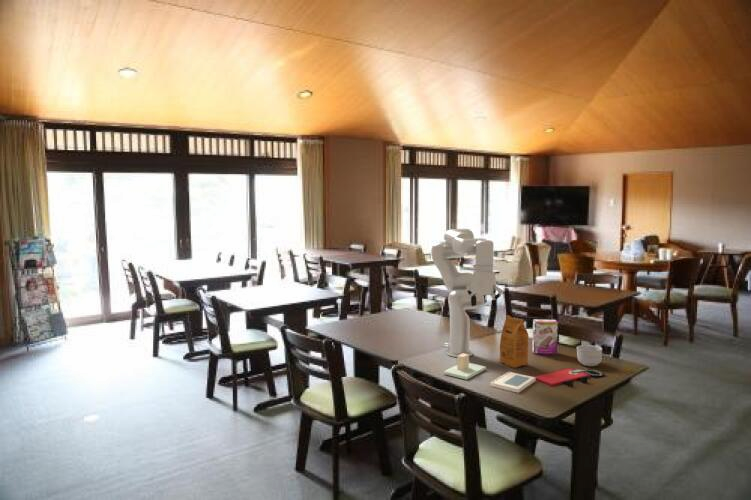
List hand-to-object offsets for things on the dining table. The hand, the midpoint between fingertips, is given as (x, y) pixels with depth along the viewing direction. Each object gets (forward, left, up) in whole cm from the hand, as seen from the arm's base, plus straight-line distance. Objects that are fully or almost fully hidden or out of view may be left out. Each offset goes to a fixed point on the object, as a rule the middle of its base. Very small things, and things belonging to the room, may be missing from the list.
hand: (483, 307), depth 229 cm
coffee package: (+7, +16, -28) cm, 33 cm away
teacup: (+35, +38, -28) cm, 59 cm away
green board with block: (-4, -8, -28) cm, 30 cm away
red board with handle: (+34, +14, -29) cm, 47 cm away
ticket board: (+18, -8, -28) cm, 35 cm away
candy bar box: (+12, +41, -28) cm, 51 cm away
